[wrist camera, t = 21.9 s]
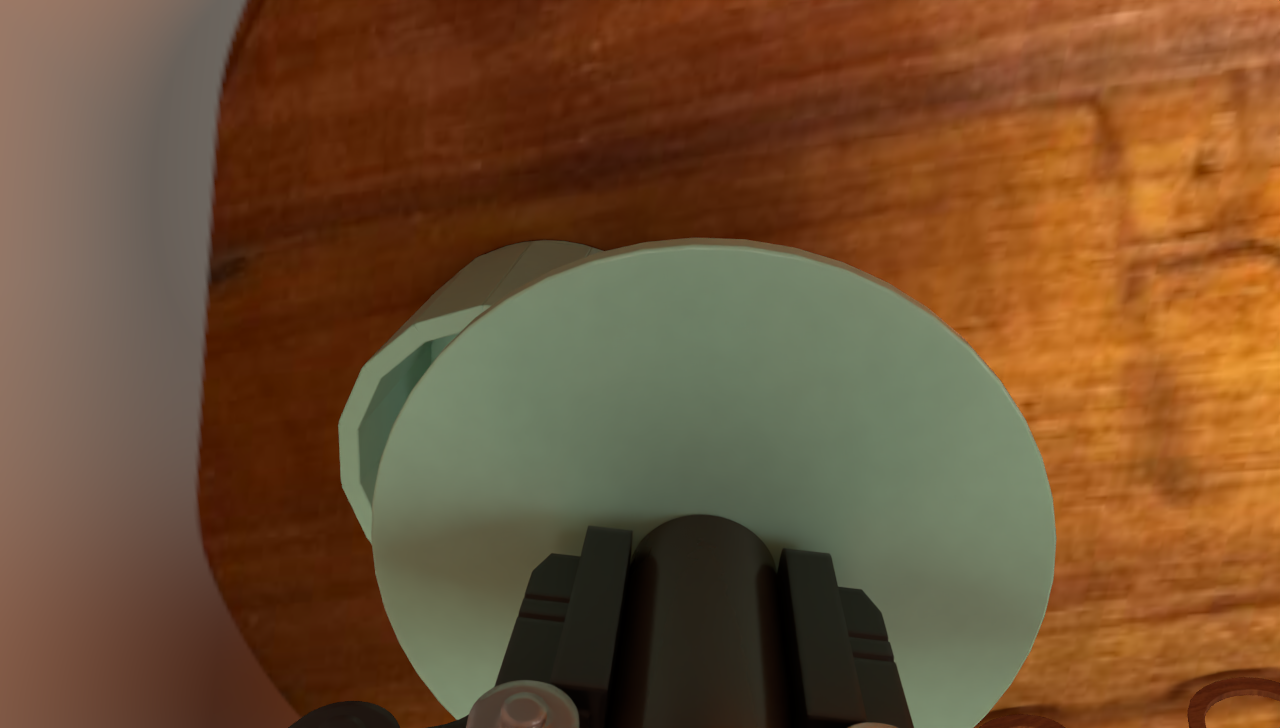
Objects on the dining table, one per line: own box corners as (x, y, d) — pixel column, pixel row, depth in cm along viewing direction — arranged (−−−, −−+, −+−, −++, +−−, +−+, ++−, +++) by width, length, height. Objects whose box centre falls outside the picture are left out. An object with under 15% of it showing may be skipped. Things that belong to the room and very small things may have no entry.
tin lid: (399, 739, 17) (255, 1073, 12) (383, 192, 13) (148, 318, 8) (952, 809, 17) (1067, 1188, 11) (1116, 265, 13) (1421, 453, 7)
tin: (419, 479, 34) (344, 598, 27) (418, 223, 30) (331, 286, 23) (677, 511, 33) (669, 640, 27) (711, 257, 29) (711, 331, 23)
